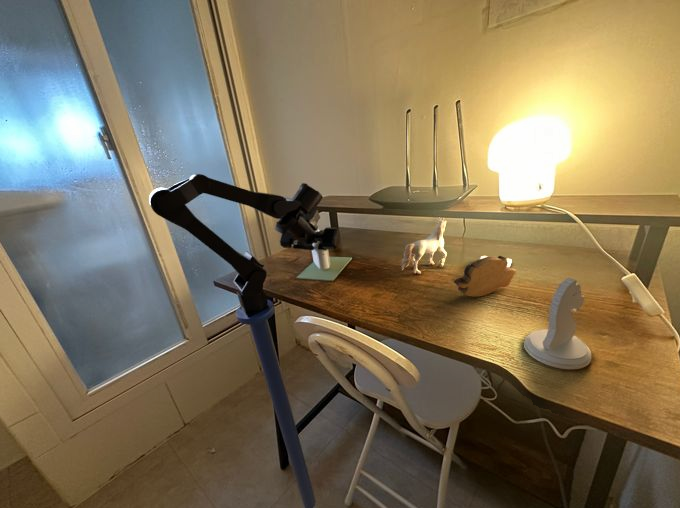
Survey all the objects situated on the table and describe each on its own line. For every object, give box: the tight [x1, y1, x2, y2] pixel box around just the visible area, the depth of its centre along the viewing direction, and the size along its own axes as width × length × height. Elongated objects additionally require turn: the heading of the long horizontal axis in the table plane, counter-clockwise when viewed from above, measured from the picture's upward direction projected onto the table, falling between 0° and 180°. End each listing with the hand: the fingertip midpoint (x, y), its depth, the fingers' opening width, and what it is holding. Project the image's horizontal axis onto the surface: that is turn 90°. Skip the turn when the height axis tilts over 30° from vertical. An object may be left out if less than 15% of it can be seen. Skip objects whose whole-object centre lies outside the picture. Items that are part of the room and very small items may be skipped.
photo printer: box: [311, 228, 330, 270], centre depth 102 cm, size 10×4×12 cm, turn 16°
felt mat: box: [295, 256, 353, 282], centre depth 103 cm, size 18×13×1 cm
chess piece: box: [523, 277, 592, 370], centre depth 52 cm, size 10×10×15 cm
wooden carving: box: [453, 255, 517, 298], centre depth 73 cm, size 16×5×10 cm, turn 110°
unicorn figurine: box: [400, 216, 448, 275], centre depth 90 cm, size 7×20×13 cm, turn 128°
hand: (320, 249), depth 98 cm, fingers closed on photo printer, 4 cm apart
